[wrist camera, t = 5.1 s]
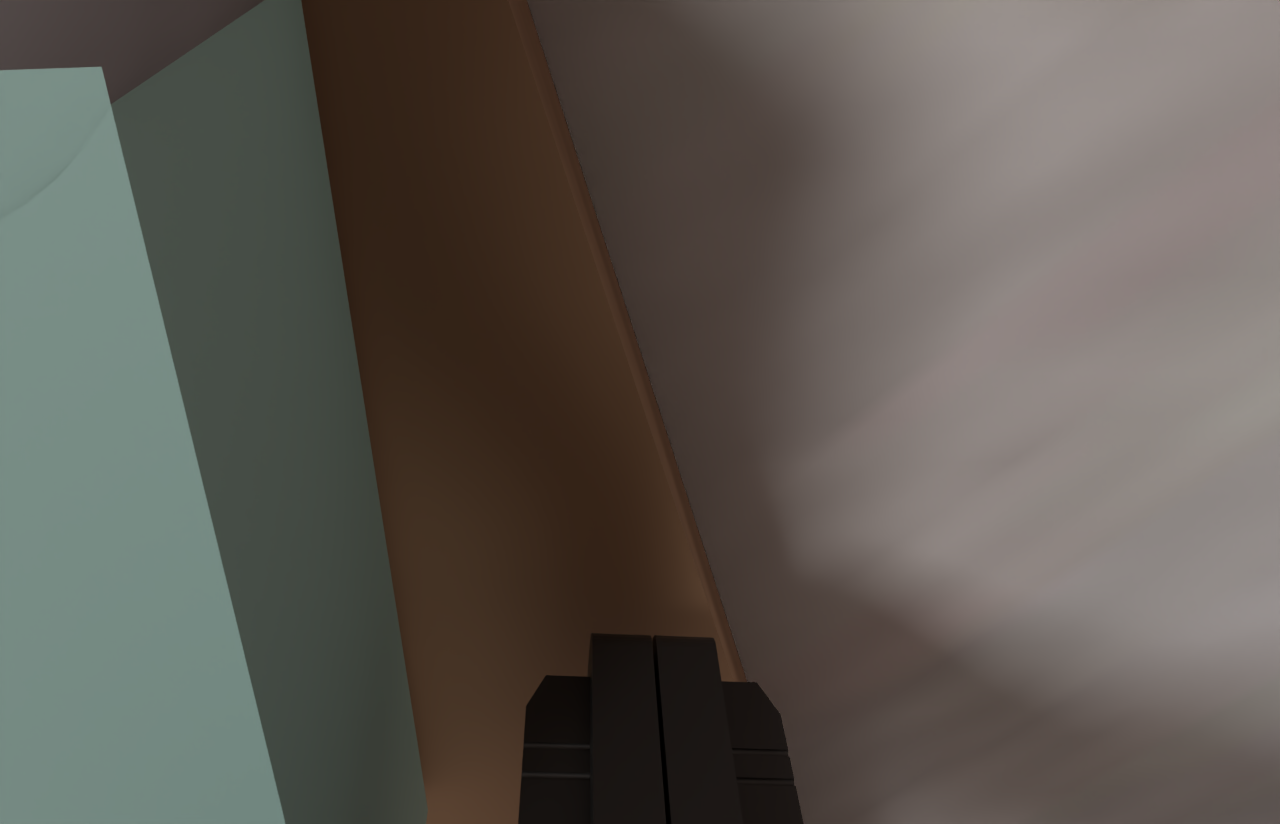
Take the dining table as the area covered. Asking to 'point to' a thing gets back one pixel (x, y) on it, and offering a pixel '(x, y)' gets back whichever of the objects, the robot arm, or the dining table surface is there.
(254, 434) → the hinged leg
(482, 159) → the board
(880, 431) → the dining table surface
